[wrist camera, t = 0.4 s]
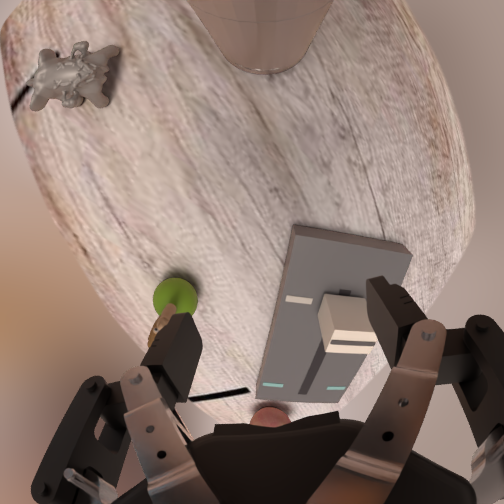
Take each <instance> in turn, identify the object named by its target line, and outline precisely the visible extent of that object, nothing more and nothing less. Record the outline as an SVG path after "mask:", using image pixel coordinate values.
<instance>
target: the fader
mask: <svg viewBox="0 0 504 504" xmlns="http://www.w3.org/2000/svg"><path fill="white" fill-rule="evenodd" d="M318 320H319V324H320V329H321V334H322V338H323V343H324V348H325V352H333V353H355V354H370V352H371V350H372V349H373V347H374V345H375V343H376V341H377V336H376V334H375V332H374V330H373V328H372V326H371V324H370V322H369V319H368V314H367V302H366V299H365V298H358V297H349V296H340V295H332V294H324V297H323V300H322V303H321V306H320V309H319V312H318Z"/></svg>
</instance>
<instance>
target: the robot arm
mask: <svg viewBox="0 0 504 504" xmlns="http://www.w3.org/2000/svg"><path fill="white" fill-rule="evenodd" d="M187 1H188V3H189V4H190V6H191V7H192V8H193V10H194V11H195V13H196V14H197V16H198V17H199V18H200V20H201V21H202V23H203V24H204V26H205V27H206V29H207V30H208V32H209V33H210V35H211V36H212V38H213V39H214V41H215V43H216V44H217V46H218V47H219V49H220V50H221V52H222V53H223V55H224V56H225V58H226V59H227V60H228V61H229V62H230V63H231V64H233V65H234V66H236V67H237V68H239V69H241V70H244V71H246V72H250V73H255V74H274V73H279V72H282V71H285V70H287V69H289V68H291V67H293V66H294V65H296V64H297V63H298V62H299V61H300V60H301V59H302V58H303V56H304V55H305V54H306V52H307V50H308V48H309V46H310V44H311V42H312V40H313V38H314V36H315V34H316V32H317V30H318V29H319V27H320V25H321V23H322V21H323V19H324V17H325V15H326V13H327V12H328V10H329V8H330V6H331V4H332V2H333V0H187ZM366 299H367V314H368V319H369V322H370V324H371V326H372V328H373V330H374V332H375V334H376V336H377V339H378V341H379V343H380V345H381V347H382V349H383V352H384V354H385V356H386V358H387V361H388V363H389V365H390V368H391V372H390V375H389V377H388V379H387V381H386V383H385V385H384V387H383V389H382V391H381V393H380V396H379V397H378V399H377V402H376V403H375V405H374V407H373V409H372V411H371V413H370V414H369V416H368V418H367V420H366V422H365V423H364V422H361V421H356V420H350V419H340V418H339V412H338V411H335V412H330V413H325V414H319V415H314V416H307V417H305V418H302V419H299V420H296V421H293V422H290V423H287V424H284V425H281V426H278V427H266V426H258V425H251V424H245V423H241V424H215V427H214V433H210V434H207V435H204V436H202V437H199V438H197V439H195V440H194V438H193V437H192V435H191V434H190V432H189V430H188V429H187V427H186V425H185V424H184V422H183V420H182V418H181V417H180V415H179V413H178V412H177V410H176V409H175V404H176V402H181V403H183V402H185V403H186V402H187V398H188V395H189V392H190V388H191V385H192V382H193V378H194V375H195V372H196V369H197V365H198V362H199V359H200V356H201V352H202V348H203V345H202V339H201V336H200V334H199V332H198V330H197V327H196V325H195V323H194V320H193V318H192V316H191V314H190V313H189V312H184V313H177V314H173V315H172V316H171V318H170V320H169V322H168V324H167V325H165V326H164V327H163V328H162V329H161V330H160V331H158V333H157V334H156V336H155V338H154V341H153V342H152V344H151V347H149V349H148V351H147V353H146V355H145V357H144V359H143V361H142V363H141V365H140V366H135V367H133V368H130V369H129V370H128V371H126V372H125V373H124V374H123V375H122V377H121V379H120V381H118V382H114V383H109V384H107V382H106V381H105V380H104V378H103V377H101V376H93V377H90V378H89V379H87V380H86V381H85V382H84V383H83V384H82V385H81V387H80V389H79V391H78V392H77V394H76V396H75V397H74V399H73V401H72V403H71V404H70V406H69V408H68V410H67V412H66V414H65V416H64V417H63V419H62V421H61V423H60V425H59V427H58V429H57V431H56V433H55V435H54V437H53V439H52V441H51V443H50V445H49V447H48V449H47V451H46V453H45V455H44V457H43V460H42V462H41V464H40V466H39V468H38V471H37V473H36V475H35V478H34V480H33V482H32V485H31V494H32V497H33V499H34V500H35V501H36V502H37V503H39V504H493V503H495V502H496V501H498V500H501V499H504V332H503V331H502V329H501V328H500V327H499V326H498V325H497V323H496V322H495V321H494V320H493V319H492V318H490V317H489V316H486V315H474V316H472V317H470V318H469V319H468V320H467V322H466V325H465V328H459V329H446V328H445V326H444V325H443V324H442V323H440V322H438V321H436V320H431V319H428V318H427V317H426V316H425V314H424V313H423V312H422V310H421V309H420V308H419V306H418V305H417V304H416V302H414V300H413V299H412V297H411V296H410V295H409V294H408V292H407V291H406V290H405V289H404V288H403V287H401V286H399V285H397V284H392V285H390V284H389V283H388V281H387V280H386V279H385V277H384V276H383V275H381V276H377V277H373V278H369V279H367V280H366ZM451 383H452V385H453V388H454V390H455V392H456V394H457V396H458V398H459V401H460V403H461V405H462V408H463V410H464V413H465V415H466V417H467V420H468V422H469V425H470V427H471V430H472V433H473V435H474V438H475V441H476V444H477V446H478V449H477V450H476V452H475V453H474V455H473V457H472V461H471V468H472V475H471V479H470V481H468V480H466V479H465V478H464V477H462V476H459V475H458V474H456V473H454V472H452V471H450V470H447V469H446V468H444V467H442V466H440V465H438V464H436V463H434V462H433V461H431V460H429V459H427V458H425V457H423V456H422V455H420V454H418V453H417V452H415V451H413V450H412V448H413V445H414V443H415V441H416V438H417V436H418V434H419V431H420V428H421V426H422V423H423V421H424V418H425V415H426V412H427V409H428V406H429V403H430V400H431V397H432V394H433V391H434V387H435V385H441V384H451ZM100 417H101V418H102V419H103V420H104V421H105V425H104V428H103V430H102V432H101V435H100V437H99V440H97V439H96V438H95V435H94V429H95V427H96V424H97V422H98V420H99V418H100ZM131 440H132V443H133V446H134V449H135V451H136V454H137V457H138V459H139V462H140V464H141V467H142V469H143V472H144V474H145V477H146V478H145V479H144V480H143V481H141V482H140V483H139V484H137V485H136V486H134V487H133V488H132V489H130V490H129V491H127V492H126V493H124V494H123V495H122V496H120V497H119V498H118V496H117V491H116V487H117V483H118V480H119V476H120V473H121V470H122V467H123V463H124V460H125V457H126V454H127V451H128V448H129V445H130V442H131Z"/></svg>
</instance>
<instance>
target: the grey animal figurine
mask: <svg viewBox="0 0 504 504" xmlns="http://www.w3.org/2000/svg"><path fill="white" fill-rule="evenodd" d="M88 47H89V43H88V42H87V41H82V42H78V43H76V44H74V46H73V49H72V52H71V56H69V57H67V58H56V54H55V52H54V51H53V50H51V49H43V50H41V51H40V53H39V60H38V70H37V71H36V73H35V77H34V78H33V79H30V80H29V81H28V82H27V83H26V84H27V85H29V86H32V87H33V88H34V93H33V95H32V98H31V103H30V109H31V110H32V111H40V110H42V109H43V108H44V107H45V106H46V104H47V102H48V100H49V99H58V100H60V101H62V106H63V107H67V108H74V107H78V106H80V105H81V103H82V102H83V97H85V98H87V99H89V100H90V101H91V102H92V103H93V104H94V105H95V106H96V107H97V108H103V107H105V106H107V105H108V103H109V98H108V97H106V96H104V94H103V93H102V91H101V90H102V86H103V84H104V82H105V81H106V80H107V77H106V76H105V75H104V73H106V72H108V71H109V67H108V66H107V62H108V59H109V58H111V57H115V56H117V55H118V54H119V49H118V48H117V47H116V46H115V45H109V46H108V47H105V48H103V49H101V50H99V51H97V52H95V53H92V54H91V53H90V52H89V51H87V50H88ZM76 50H79V51H80V52H81V53H82V54H81V55H75V56H74V53H75V51H76Z"/></svg>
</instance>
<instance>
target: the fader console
mask: <svg viewBox="0 0 504 504" xmlns="http://www.w3.org/2000/svg"><path fill="white" fill-rule="evenodd" d="M412 256H413V255H412V254H411V252H410V251H409V250H408V249H407V248H406V247H405V246H404V245H403V244H399V243H393V242H388V241H383V240H378V239H373V238H367V237H362V236H357V235H351V234H345V233H340V232H334V231H328V230H322V229H317V228H311V227H304V226H298V225H293V227H292V232H291V237H290V242H289V247H288V252H287V256H286V261H285V266H284V270H283V275H282V280H281V284H280V289H279V293H278V298H277V302H276V306H275V311H274V315H273V319H272V324H271V328H270V332H269V336H268V340H267V344H266V348H265V352H264V356H263V360H262V364H261V368H260V372H259V376H258V380H257V384H256V397H255V399H262V400H273V401H286V402H306V403H338V402H339V400H340V399H341V397H342V396H343V394H344V393H345V391H346V390H347V388H348V386H349V385H350V383H351V382H352V380H353V378H354V377H355V375H356V373H357V372H358V370H359V368H360V367H361V365H362V363H363V361H364V360H365V358H366V356H367V354H355V353H333V352H325V348H324V343H323V338H322V334H321V329H320V324H319V320H318V312H319V309H320V306H321V303H322V300H323V297H324V294H332V295H340V296H349V297H358V298H365V299H366V280H367V279H369V278H373V277H377V276H381V275H383V276H384V277H385V279H386V280H387V281H388V283H389V284H390V285H392V284H397V285H399V286H401V284H402V282H403V279H404V277H405V274H406V272H407V269H408V267H409V264H410V262H411V259H412ZM366 302H367V299H366Z"/></svg>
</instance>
